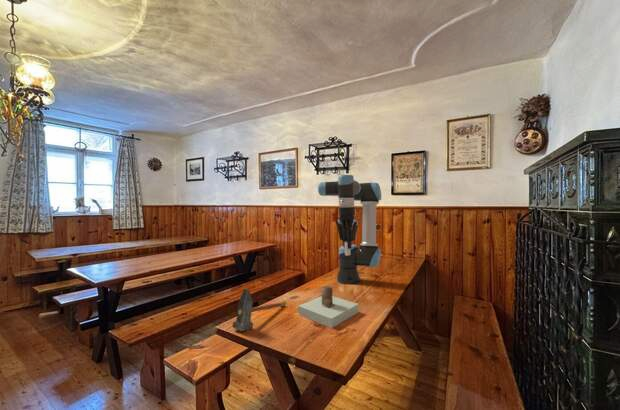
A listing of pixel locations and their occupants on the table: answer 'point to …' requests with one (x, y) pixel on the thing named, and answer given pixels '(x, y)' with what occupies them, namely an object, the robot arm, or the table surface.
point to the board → (328, 311)
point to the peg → (326, 296)
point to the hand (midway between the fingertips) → (347, 254)
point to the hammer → (249, 311)
